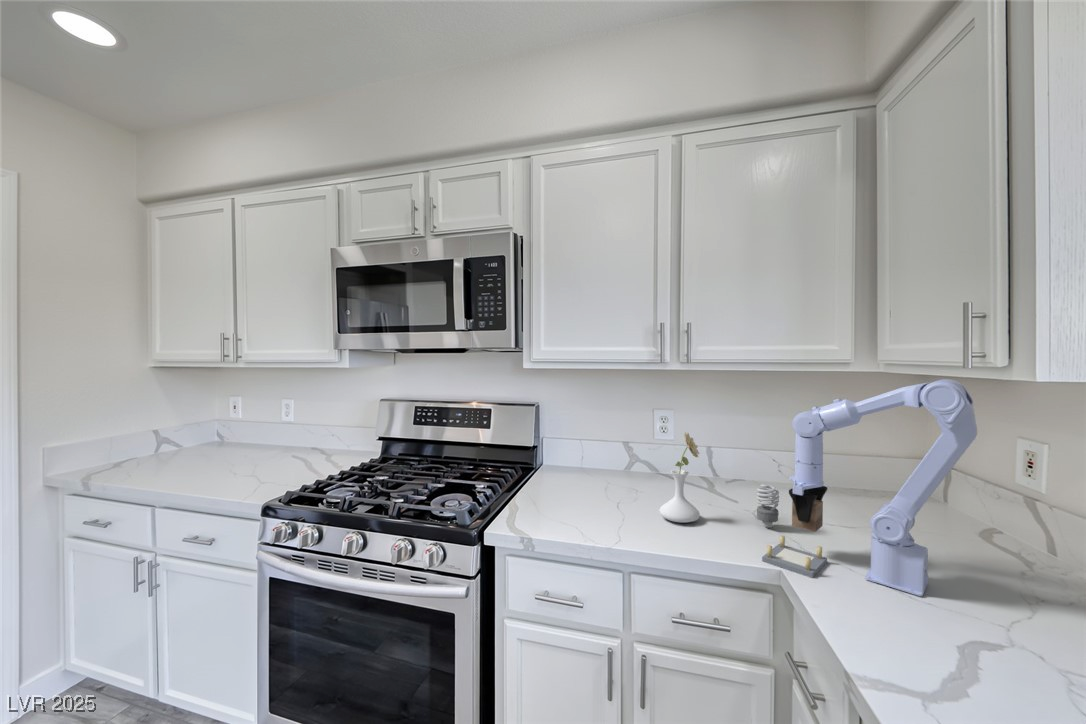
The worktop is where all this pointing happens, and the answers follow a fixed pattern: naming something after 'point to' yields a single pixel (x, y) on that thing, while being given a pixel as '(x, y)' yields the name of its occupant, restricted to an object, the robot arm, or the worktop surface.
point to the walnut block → (815, 518)
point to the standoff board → (795, 559)
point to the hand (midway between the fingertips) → (807, 518)
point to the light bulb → (767, 512)
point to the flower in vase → (681, 491)
